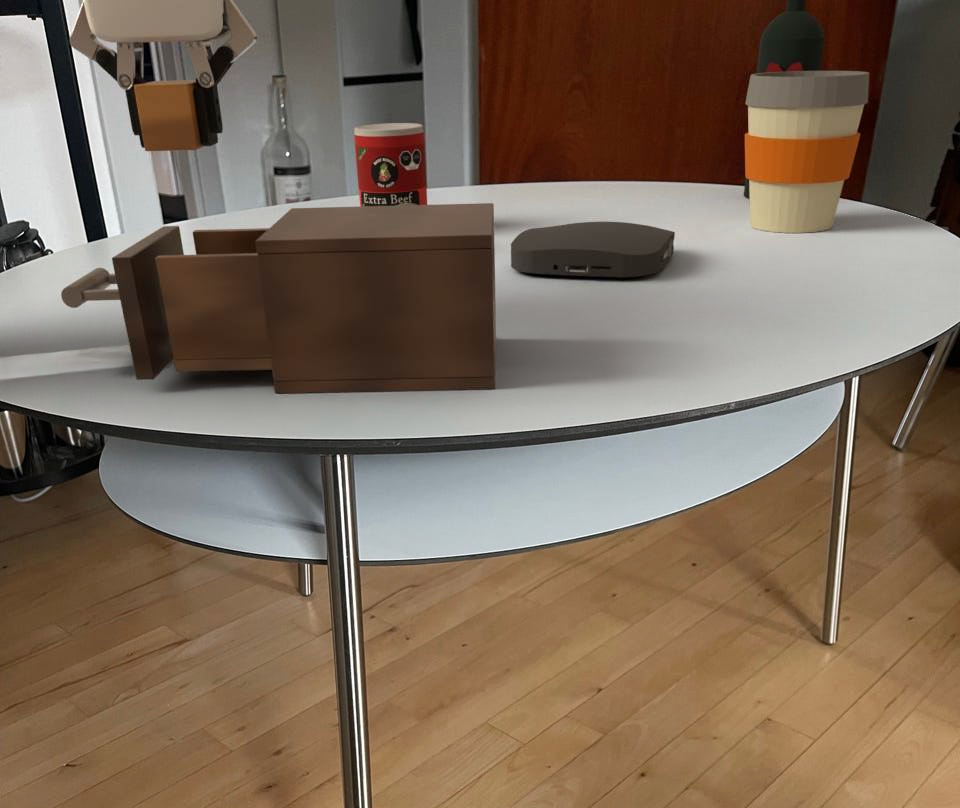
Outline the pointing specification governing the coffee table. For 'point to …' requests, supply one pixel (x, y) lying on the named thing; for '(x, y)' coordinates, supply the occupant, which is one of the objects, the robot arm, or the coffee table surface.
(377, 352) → the cabinet
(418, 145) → the canned food
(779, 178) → the reusable coffee cup
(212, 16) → the robot arm
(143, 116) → the orange block
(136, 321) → the drawer
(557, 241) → the media streaming box
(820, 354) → the coffee table surface
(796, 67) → the wine bottle
